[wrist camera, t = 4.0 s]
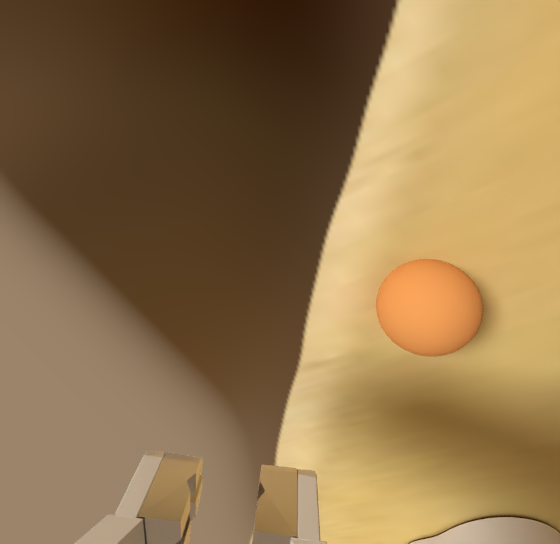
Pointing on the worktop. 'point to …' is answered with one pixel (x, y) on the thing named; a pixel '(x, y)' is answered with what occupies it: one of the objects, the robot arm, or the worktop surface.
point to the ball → (429, 307)
